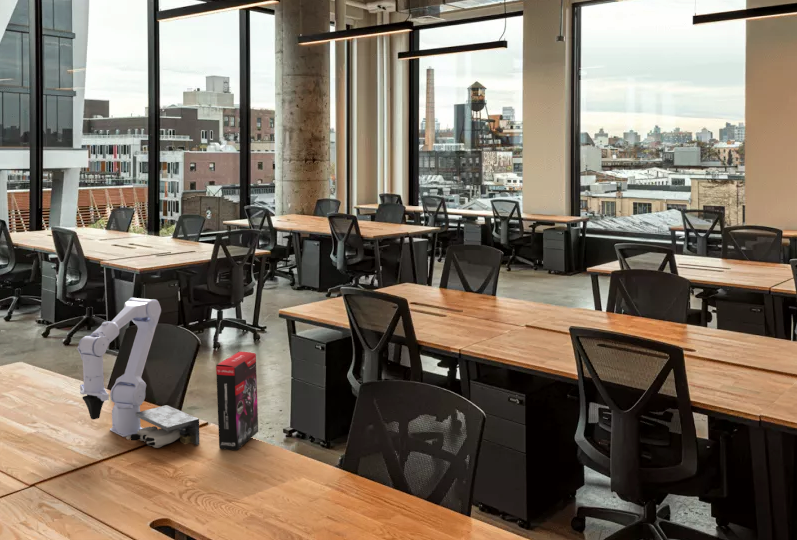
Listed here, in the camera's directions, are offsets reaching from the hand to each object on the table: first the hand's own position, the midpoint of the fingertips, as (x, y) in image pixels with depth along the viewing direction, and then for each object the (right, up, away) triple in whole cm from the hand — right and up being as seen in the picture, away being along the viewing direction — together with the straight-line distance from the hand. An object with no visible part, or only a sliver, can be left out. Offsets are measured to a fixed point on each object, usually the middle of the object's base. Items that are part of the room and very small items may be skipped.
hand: (95, 418), depth 229 cm
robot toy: (+16, -9, +7) cm, 20 cm away
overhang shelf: (+20, -9, +8) cm, 23 cm away
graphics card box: (+42, -9, +9) cm, 44 cm away
